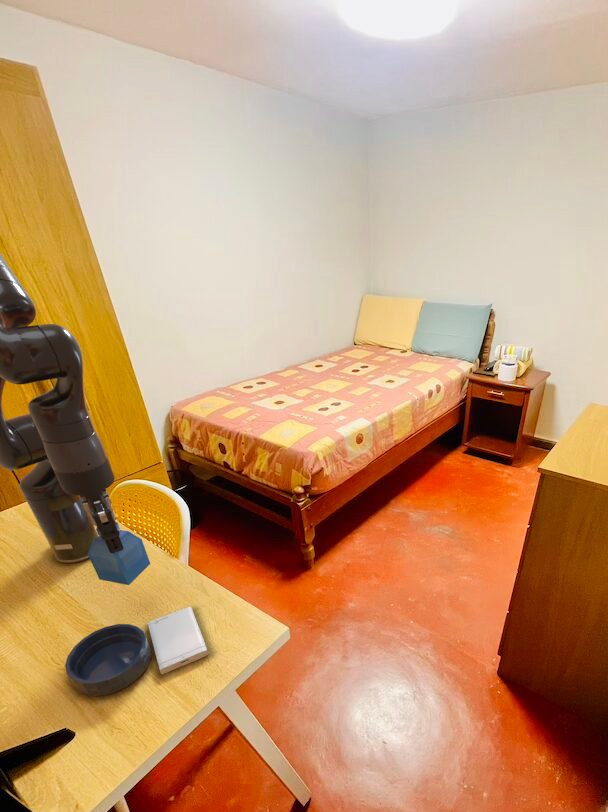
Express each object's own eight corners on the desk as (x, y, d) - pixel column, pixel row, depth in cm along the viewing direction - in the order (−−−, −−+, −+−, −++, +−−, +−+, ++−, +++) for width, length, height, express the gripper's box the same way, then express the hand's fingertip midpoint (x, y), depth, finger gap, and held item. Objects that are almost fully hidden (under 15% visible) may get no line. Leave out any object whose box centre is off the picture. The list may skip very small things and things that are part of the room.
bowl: (69, 659, 76) (60, 645, 74) (142, 627, 83) (136, 613, 80) (80, 710, 69) (71, 697, 66) (159, 671, 75) (154, 658, 73)
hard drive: (146, 622, 82) (159, 669, 74) (191, 605, 86) (207, 649, 78) (149, 627, 83) (161, 675, 75) (192, 611, 87) (209, 654, 78)
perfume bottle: (128, 585, 78) (107, 534, 71) (99, 579, 79) (75, 528, 72) (150, 563, 83) (132, 514, 76) (122, 558, 84) (102, 509, 77)
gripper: (115, 471, 65) (145, 555, 75) (98, 438, 74) (126, 516, 84) (57, 485, 61) (97, 571, 71) (46, 448, 70) (83, 529, 80)
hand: (113, 541), depth 77 cm, fingers closed on perfume bottle, 5 cm apart
